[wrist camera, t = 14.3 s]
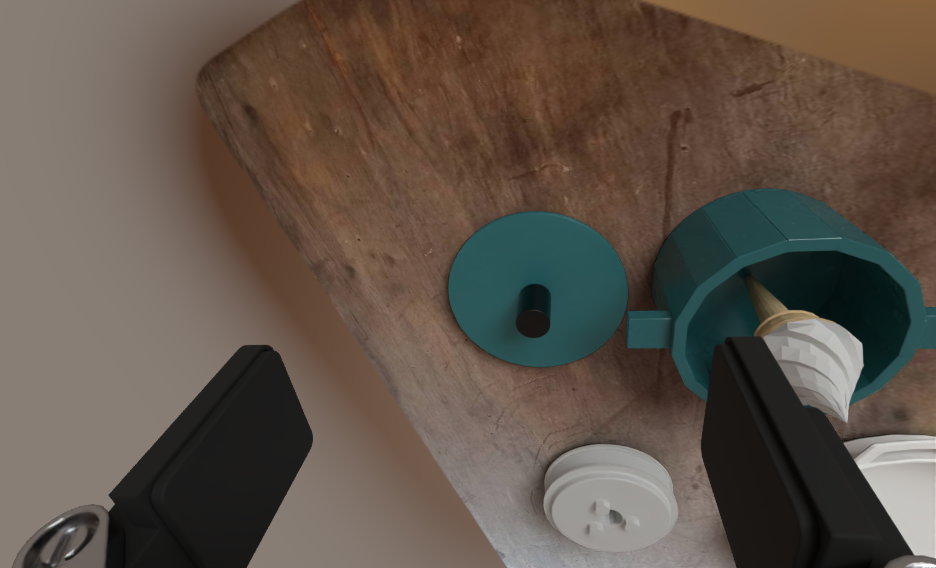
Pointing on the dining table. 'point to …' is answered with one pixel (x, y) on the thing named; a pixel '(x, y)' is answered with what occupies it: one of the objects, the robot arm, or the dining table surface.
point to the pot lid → (538, 289)
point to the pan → (903, 483)
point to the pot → (779, 285)
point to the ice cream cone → (809, 352)
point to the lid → (609, 498)
